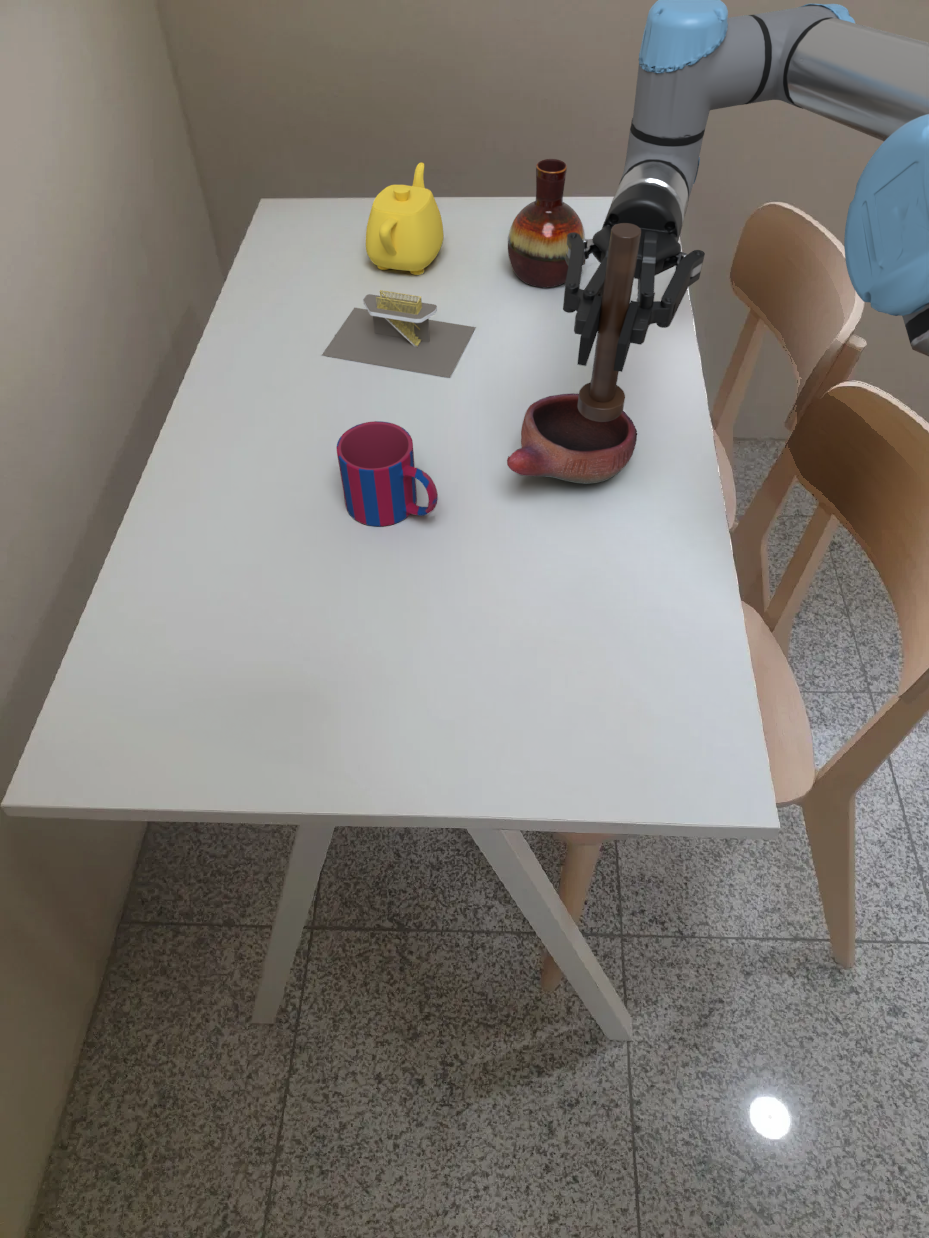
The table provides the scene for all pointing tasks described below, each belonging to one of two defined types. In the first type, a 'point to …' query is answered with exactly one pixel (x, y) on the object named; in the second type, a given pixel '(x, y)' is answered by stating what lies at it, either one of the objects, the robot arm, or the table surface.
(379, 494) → the mug
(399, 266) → the teapot
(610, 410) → the muddler
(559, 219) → the vase
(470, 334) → the platform
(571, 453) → the bowl
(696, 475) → the table surface
